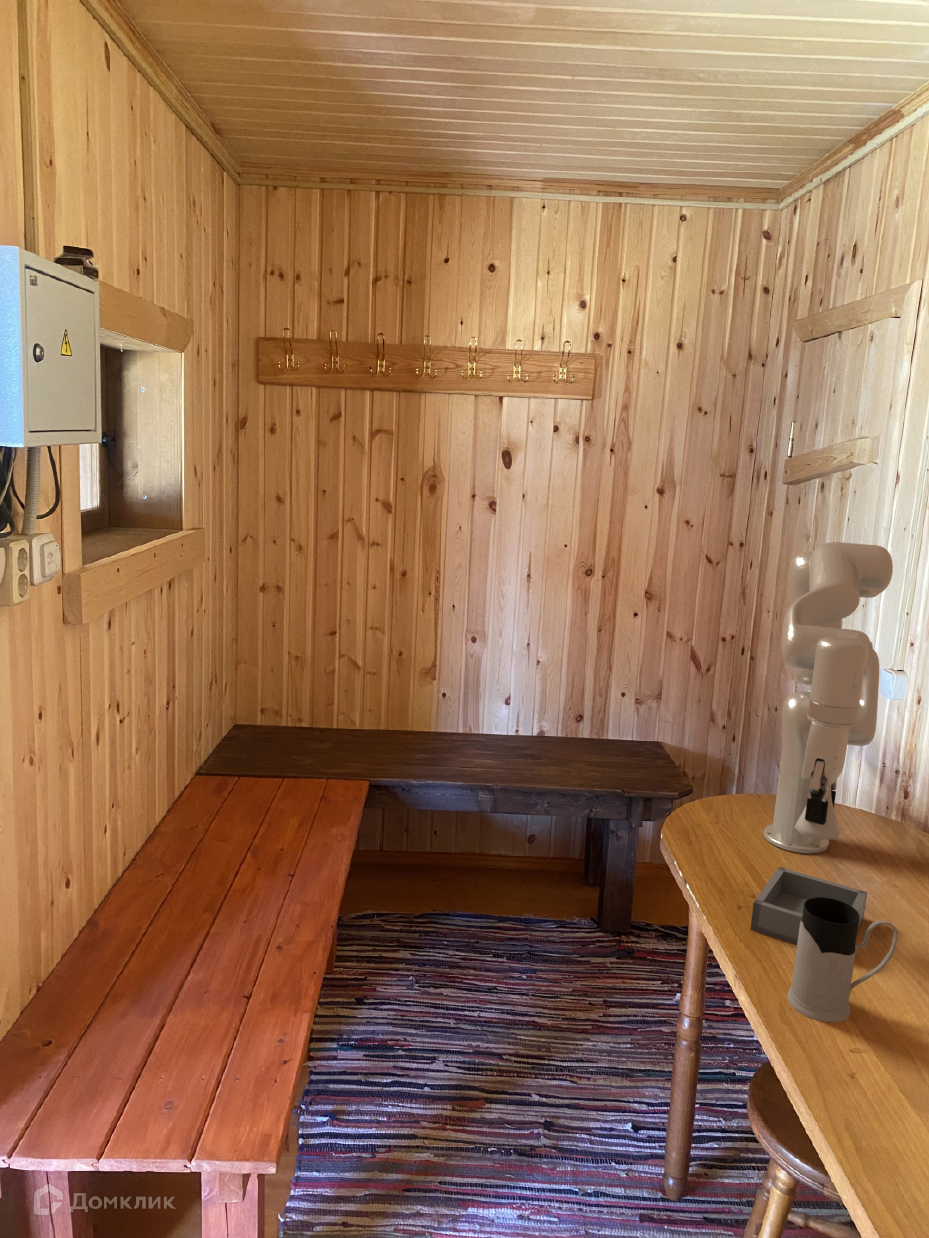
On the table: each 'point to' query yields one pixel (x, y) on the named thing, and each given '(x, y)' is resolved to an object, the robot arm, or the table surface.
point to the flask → (818, 830)
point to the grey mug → (828, 959)
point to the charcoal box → (796, 902)
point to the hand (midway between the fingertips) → (819, 815)
